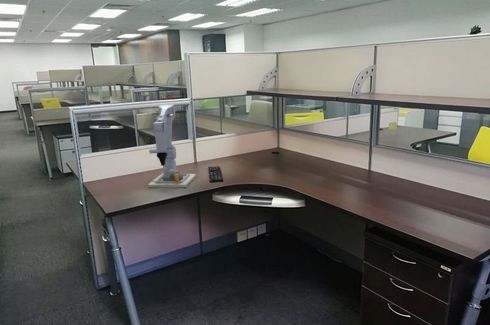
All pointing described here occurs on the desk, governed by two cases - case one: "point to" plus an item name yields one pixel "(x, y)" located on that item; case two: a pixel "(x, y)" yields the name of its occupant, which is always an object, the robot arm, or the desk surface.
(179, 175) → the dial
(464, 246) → the desk surface
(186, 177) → the white base plate
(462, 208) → the desk surface
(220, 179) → the black keyboard
